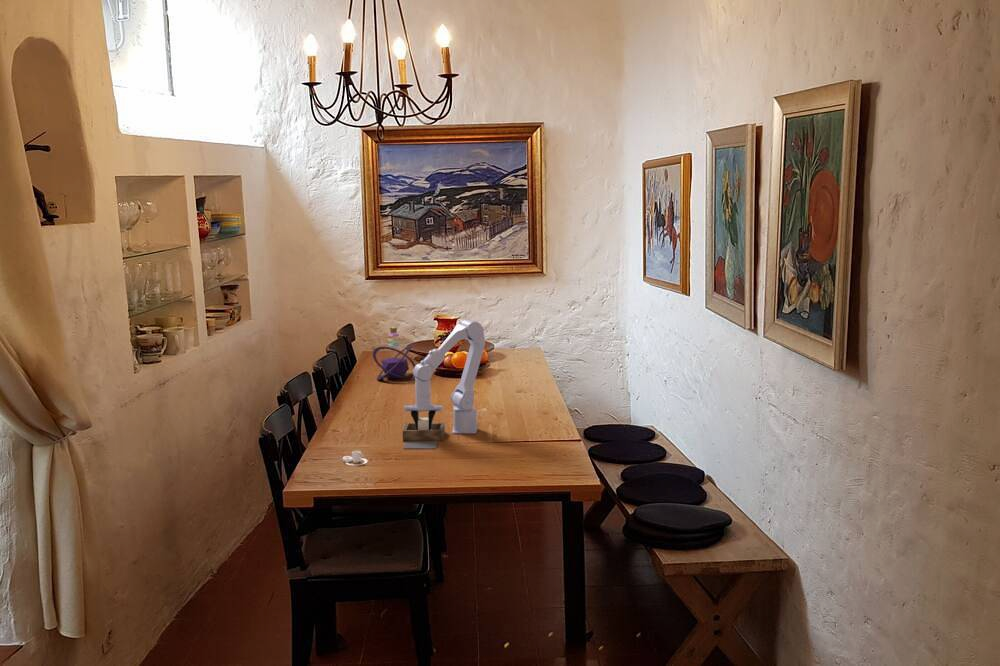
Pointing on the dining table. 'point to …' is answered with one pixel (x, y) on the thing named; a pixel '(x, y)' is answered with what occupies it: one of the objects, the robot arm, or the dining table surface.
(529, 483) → the dining table surface
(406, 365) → the decorative bottle
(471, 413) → the robot arm
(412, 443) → the charcoal mat
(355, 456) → the teacup and saucer
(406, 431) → the walnut box
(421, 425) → the cream block
